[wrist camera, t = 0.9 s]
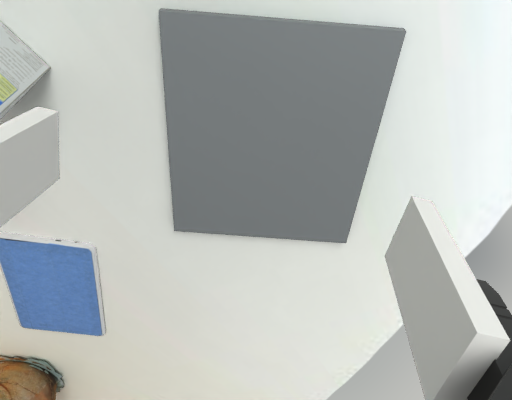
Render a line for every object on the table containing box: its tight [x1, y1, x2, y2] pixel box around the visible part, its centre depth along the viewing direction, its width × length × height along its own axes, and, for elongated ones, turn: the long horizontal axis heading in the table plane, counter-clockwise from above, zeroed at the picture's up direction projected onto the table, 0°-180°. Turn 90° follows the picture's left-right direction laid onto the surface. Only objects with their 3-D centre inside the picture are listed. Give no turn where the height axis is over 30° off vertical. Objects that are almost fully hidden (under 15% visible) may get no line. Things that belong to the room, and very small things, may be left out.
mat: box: [159, 9, 406, 243], centre depth 42 cm, size 24×20×1 cm
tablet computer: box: [0, 231, 106, 336], centre depth 57 cm, size 19×13×1 cm, turn 171°
